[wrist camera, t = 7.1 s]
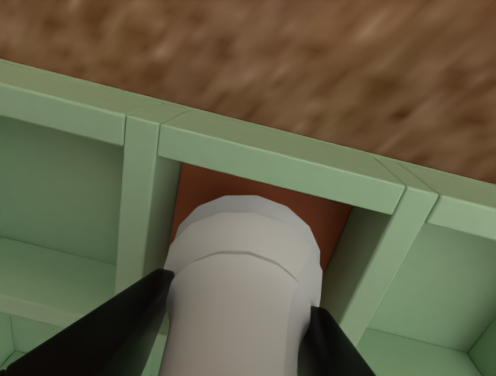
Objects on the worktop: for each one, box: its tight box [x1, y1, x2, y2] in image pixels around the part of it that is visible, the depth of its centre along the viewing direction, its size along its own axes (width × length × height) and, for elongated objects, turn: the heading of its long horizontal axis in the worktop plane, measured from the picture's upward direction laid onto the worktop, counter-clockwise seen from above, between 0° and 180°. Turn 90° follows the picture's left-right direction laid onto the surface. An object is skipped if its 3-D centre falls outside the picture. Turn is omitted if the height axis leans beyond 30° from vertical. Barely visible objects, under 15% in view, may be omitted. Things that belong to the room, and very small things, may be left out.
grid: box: [0, 59, 496, 376], centre depth 11 cm, size 21×14×3 cm
